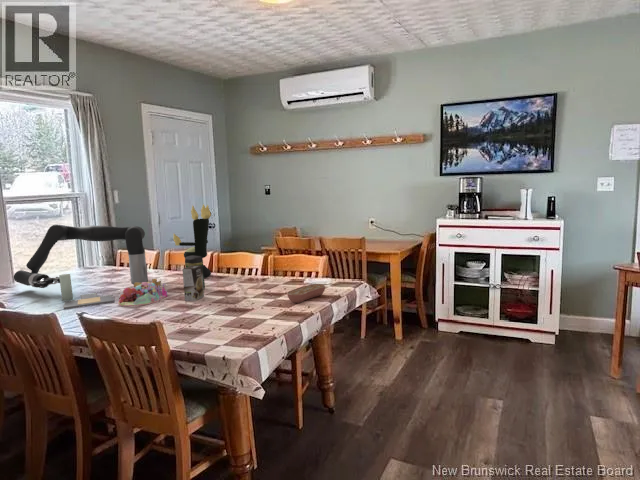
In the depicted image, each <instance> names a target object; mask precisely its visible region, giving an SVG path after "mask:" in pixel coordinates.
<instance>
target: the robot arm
mask: <svg viewBox="0 0 640 480" xmlns="http://www.w3.org/2000/svg"><path fill="white" fill-rule="evenodd" d="M145 235H146V233H145V230H144V229H143V228H142V227H140V226H136V225H133V226H122V227H121V226H120V227H119V226H112V225H110V226H109V225H83V226H72V225H71V226H69V225H64V224H58V223H57V224H56V223H55V224H52V225H50V227H49V228H48V229H47V232H46V234H45V235H44V237H43V239H42V242H41V243H40V245H38V247H37V250H35V252H34V254H33V255H32V256H31V258H30V259H29V260H28V261H27V263H26V268H27V269H28V270H30V272H29V271H27V270H22V269H21V270H18V271H16V272H15V273H14V275H13V280H14V281H15V282H16V283H19V284H21V285H25V286H29V287H30V286H31V287H32V288H35V289H37V288H39V289H45V288H48V286H51V285H57V284H60V278H59V276H55V277H50V276H49V275H48V274H44V273H39V272H40V270H41V268H42V267H43V266H44V264H45V263H46V261H47V259H48V257H49V255H50V253H51V251H52V249H53V247H54V246H55V245H56V243H58V242H59V241H60V242H61V241H62V242H63V241H69V240H81V241H87V242H88V241H90V242H110V241H116V240H118V241H119V240H122V241H123V240H125V246H126V250H127V254H128V255H127V257H128V263H129V264H128V266H129V275H130V283H131V284H133V285H134V283H136V282H139V283H142V282H149V277H148V267H147V260H146V251H145V250H146V249H145V247H144V245H143V244H144V243H143V239H144V238H145V237H146V236H145Z"/></svg>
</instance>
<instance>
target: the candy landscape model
mask: <svg viewBox="0 0 640 480" xmlns="http://www.w3.org/2000/svg"><path fill="white" fill-rule="evenodd" d="M161 283H162V280H159V281H158V280H157V278H152V279H151V281H148V282H142V283H139V282H136V283H134V284H133V287H132V288H131V287H125V288H124V289H123V291H122V294H121V295H120V297H118V299H119V300H118V302H117V304H118V306H120V307H138V306H145V305H151V304H154V303H158V302H160V300H161V299H164V298H167V297H168V290H167V289H166V283H164V282H163V283H162V286H161Z"/></svg>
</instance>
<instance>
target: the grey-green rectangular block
mask: <svg viewBox="0 0 640 480" xmlns="http://www.w3.org/2000/svg"><path fill="white" fill-rule="evenodd" d="M58 277H59V278H60V283H59V285H60V286H59V287H60V293H61V301H62V302H63V301H64V302H65V301H72V300H73V299H74V296H73V286H72V285H73V284H72V279H71V273H63V274H59V275H58Z"/></svg>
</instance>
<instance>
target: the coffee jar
mask: <svg viewBox="0 0 640 480" xmlns="http://www.w3.org/2000/svg"><path fill="white" fill-rule="evenodd" d="M184 264H185V268H186V267H189V266H202V274H203V265H204V258H202V257H201V256H194V255H192V256H186V258H185V257H184ZM203 287H204V289H206V283H205V278H204V275H203Z"/></svg>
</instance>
